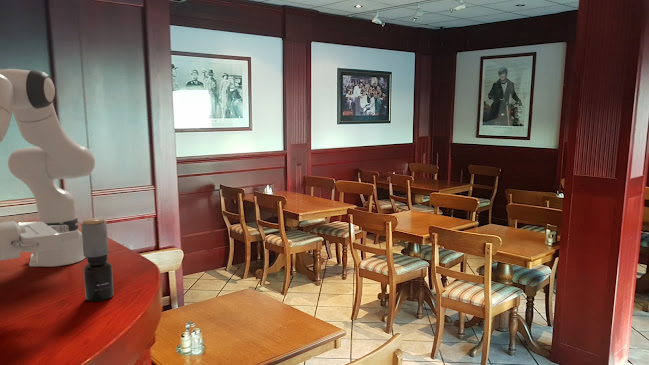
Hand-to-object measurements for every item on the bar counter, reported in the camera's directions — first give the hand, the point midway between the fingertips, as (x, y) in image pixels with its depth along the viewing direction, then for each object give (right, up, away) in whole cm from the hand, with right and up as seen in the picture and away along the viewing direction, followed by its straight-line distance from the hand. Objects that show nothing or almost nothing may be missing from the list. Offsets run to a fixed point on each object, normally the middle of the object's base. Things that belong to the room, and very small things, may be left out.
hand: (72, 231), depth 123 cm
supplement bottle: (+4, -19, +6) cm, 20 cm away
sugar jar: (+4, -6, +4) cm, 9 cm away
